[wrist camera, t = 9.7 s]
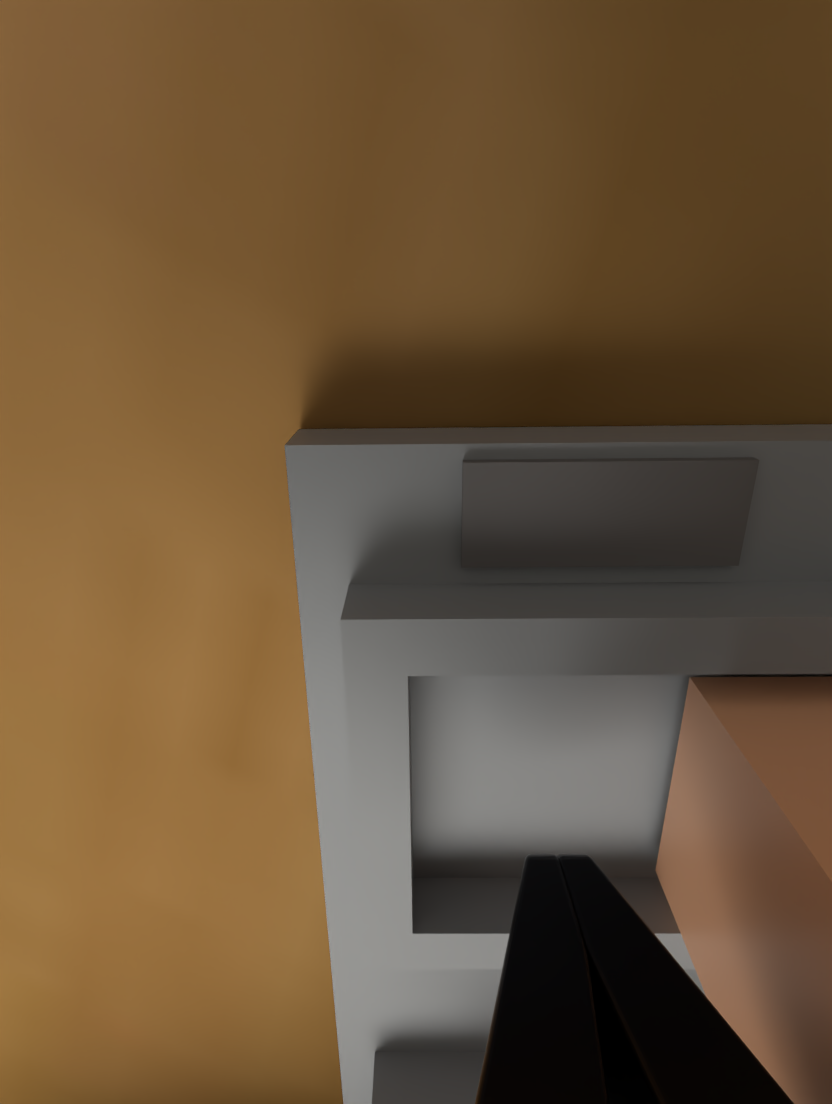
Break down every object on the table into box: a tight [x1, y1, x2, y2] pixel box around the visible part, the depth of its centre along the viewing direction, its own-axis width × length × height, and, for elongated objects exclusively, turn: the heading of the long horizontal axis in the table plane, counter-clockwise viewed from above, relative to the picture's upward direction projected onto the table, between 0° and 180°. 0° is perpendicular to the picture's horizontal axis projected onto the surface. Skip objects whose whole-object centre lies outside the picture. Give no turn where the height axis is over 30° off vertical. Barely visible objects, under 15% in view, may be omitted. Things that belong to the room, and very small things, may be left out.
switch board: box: [285, 424, 832, 1104], centre depth 12 cm, size 20×16×2 cm
